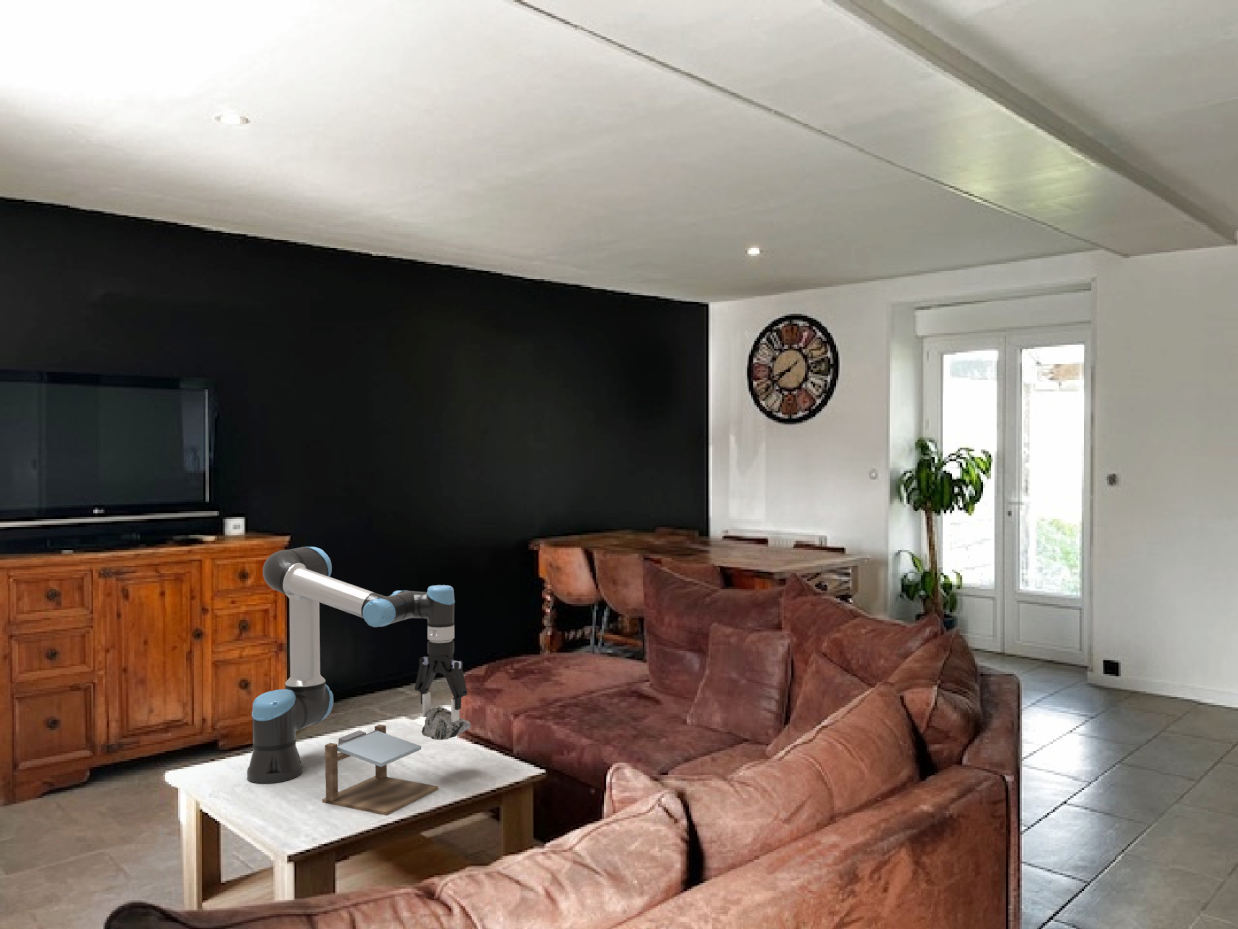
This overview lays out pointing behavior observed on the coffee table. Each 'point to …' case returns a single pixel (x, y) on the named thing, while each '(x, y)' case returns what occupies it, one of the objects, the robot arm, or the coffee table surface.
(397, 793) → the frame
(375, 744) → the trapdoor
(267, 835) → the coffee table surface
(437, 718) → the rock
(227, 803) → the coffee table surface
